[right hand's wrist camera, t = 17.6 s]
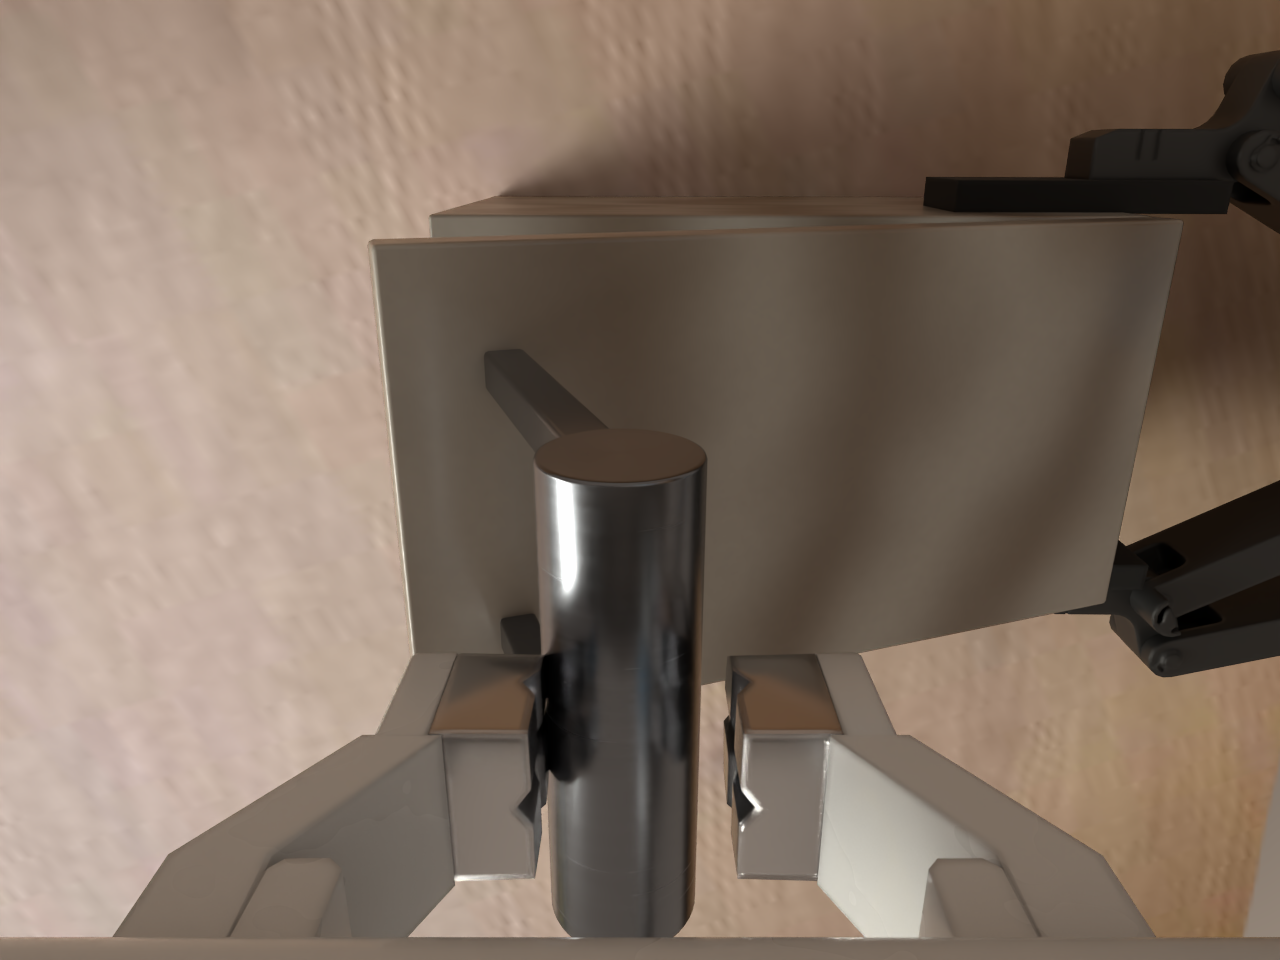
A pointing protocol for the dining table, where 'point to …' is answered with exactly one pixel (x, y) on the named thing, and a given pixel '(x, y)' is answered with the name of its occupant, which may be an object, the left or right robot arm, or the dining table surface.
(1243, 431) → the dining table surface
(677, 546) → the lid
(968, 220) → the chest
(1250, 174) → the left robot arm
